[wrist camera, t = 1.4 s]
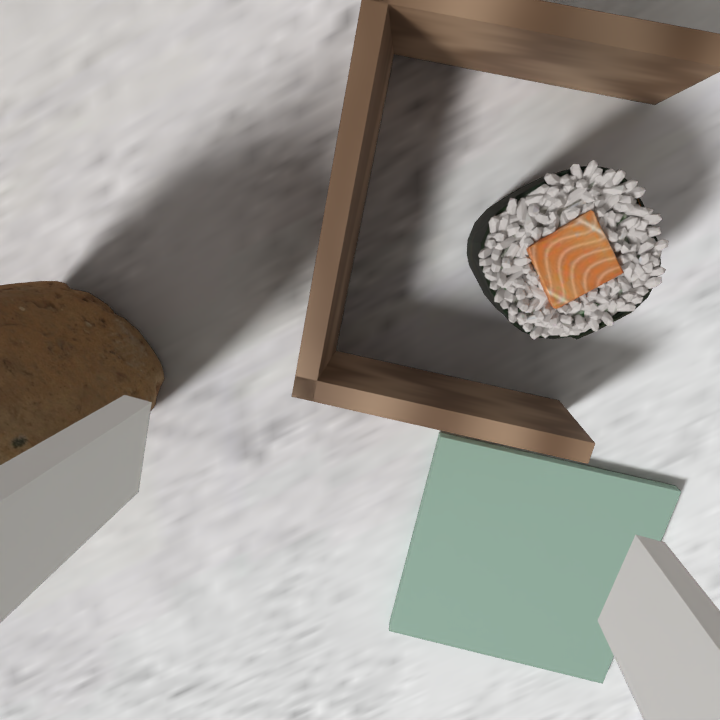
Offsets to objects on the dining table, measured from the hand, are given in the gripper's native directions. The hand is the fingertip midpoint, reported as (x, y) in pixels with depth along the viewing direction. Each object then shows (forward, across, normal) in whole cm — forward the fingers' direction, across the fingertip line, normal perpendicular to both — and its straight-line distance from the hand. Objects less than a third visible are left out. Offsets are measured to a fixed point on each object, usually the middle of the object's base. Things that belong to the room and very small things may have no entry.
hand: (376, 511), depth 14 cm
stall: (+21, +3, +8) cm, 23 cm away
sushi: (+21, +7, +8) cm, 24 cm away
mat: (+21, +12, -13) cm, 28 cm away
